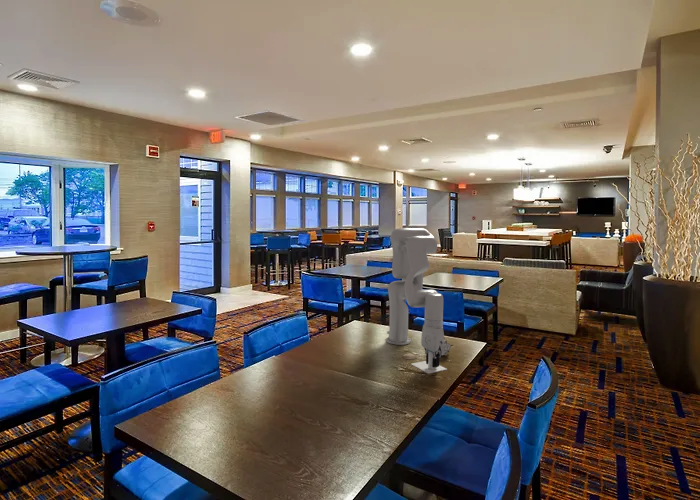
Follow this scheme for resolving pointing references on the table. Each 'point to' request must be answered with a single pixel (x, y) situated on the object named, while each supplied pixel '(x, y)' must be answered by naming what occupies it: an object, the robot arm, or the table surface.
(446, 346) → the game die
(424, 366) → the paper
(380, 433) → the table surface
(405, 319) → the robot arm
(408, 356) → the disc
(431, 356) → the marker
